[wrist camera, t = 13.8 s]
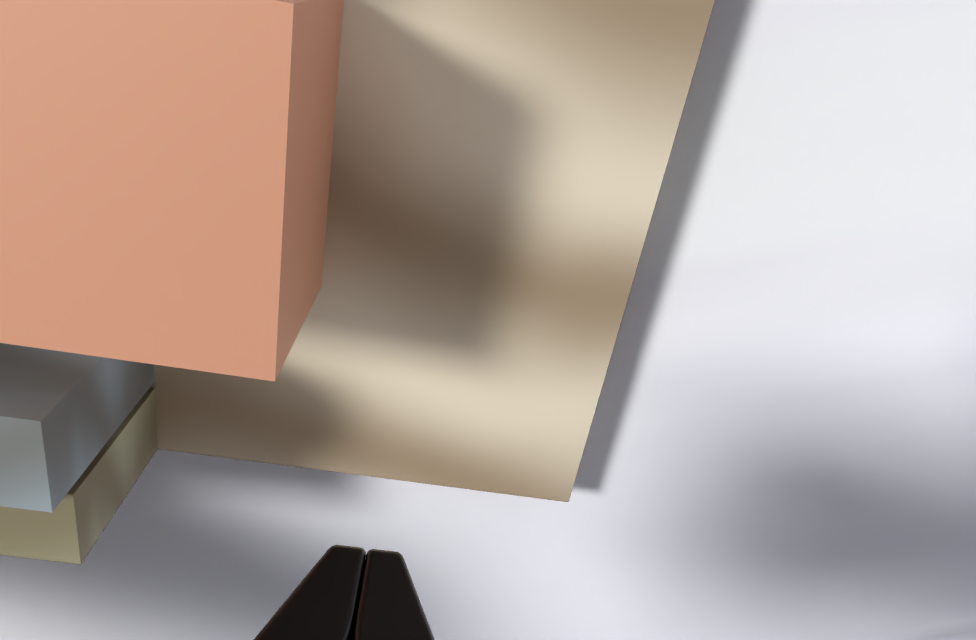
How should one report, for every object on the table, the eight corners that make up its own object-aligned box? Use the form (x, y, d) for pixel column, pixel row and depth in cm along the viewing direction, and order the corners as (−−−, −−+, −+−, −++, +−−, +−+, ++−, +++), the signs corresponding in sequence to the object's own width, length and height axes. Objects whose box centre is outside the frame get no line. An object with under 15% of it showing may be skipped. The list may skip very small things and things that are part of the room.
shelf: (564, 477, 19) (593, 651, 14) (-90, 390, 18) (-305, 551, 13) (729, -107, 13) (878, -150, 8) (-246, -315, 12) (-769, -518, 7)
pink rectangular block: (321, 286, 16) (274, 381, 12) (-109, 220, 15) (-295, 301, 11) (344, -7, 13) (293, 4, 9) (-177, -106, 12) (-448, -137, 9)
